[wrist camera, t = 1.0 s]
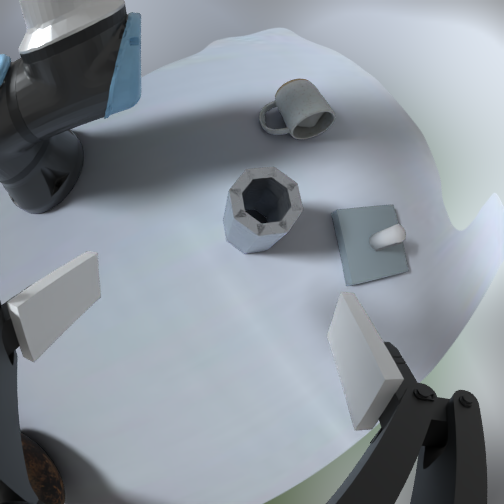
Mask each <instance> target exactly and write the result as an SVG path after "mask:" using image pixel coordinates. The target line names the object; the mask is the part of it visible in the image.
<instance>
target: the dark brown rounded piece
mask: <svg viewBox="0 0 504 504" xmlns="http://www.w3.org/2000/svg"><path fill="white" fill-rule="evenodd" d="M20 435H21V442H22V449H23V455H24V460H25V465H26V470H27V475H28V479H29V483H30V485H31V487H32V489H33V491H34V492H35V494H36V495H37V497H38V499H39V500H40V501H42V502H43V503H45V504H64V501H65V490H64V486H63V481H62V479H61V476H60V474H59V472H58V470H57V468H56V466H55V465H54V463H53V462H52V460H51V459H50V458H49V456H48V455H47V454H46V453H45V452H44V450H43V449H42V448H41V447H40V446H39V445H38V444H36V443H35V442H34V441H33V440H31V439H30V438H29V437H27V436H26V435H24V434H22V433H20Z"/></svg>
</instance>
